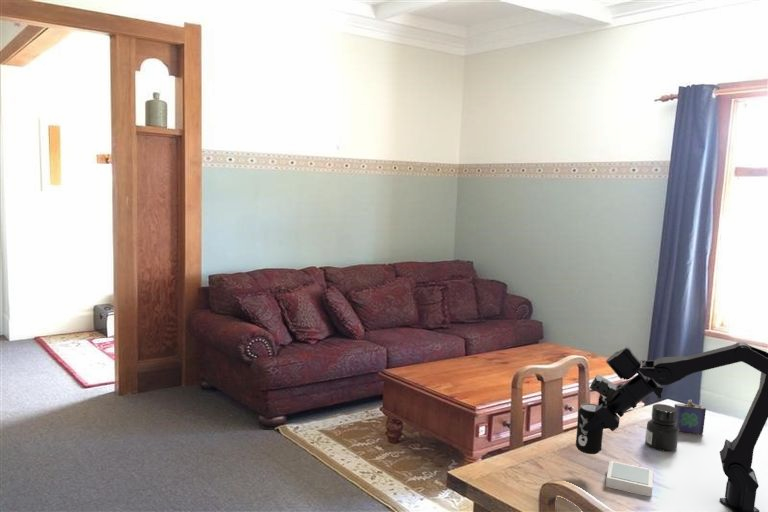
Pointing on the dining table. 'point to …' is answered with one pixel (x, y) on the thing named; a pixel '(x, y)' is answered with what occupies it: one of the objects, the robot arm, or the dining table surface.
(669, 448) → the ink bottle
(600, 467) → the dining table surface
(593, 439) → the beverage can
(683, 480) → the dining table surface
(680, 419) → the flask
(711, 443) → the dining table surface
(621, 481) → the trivet
